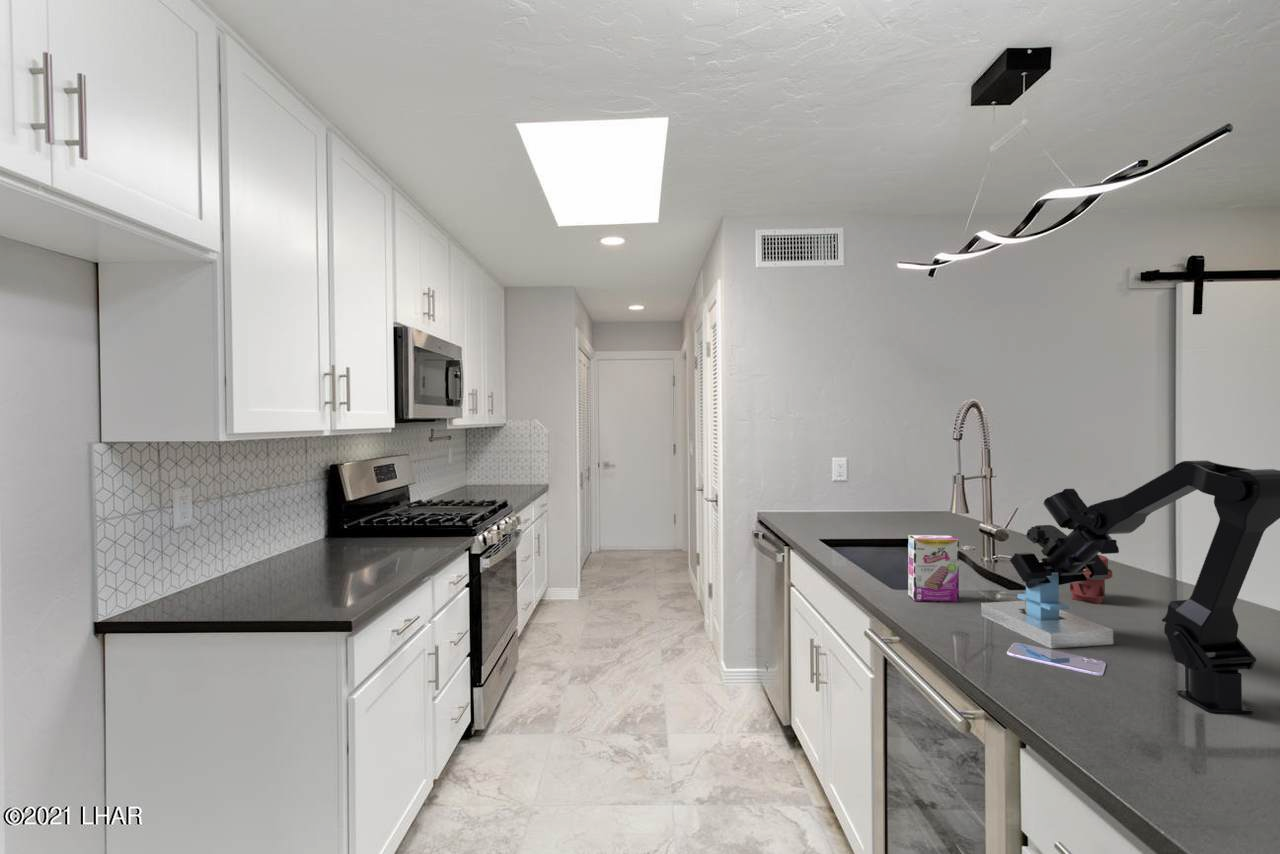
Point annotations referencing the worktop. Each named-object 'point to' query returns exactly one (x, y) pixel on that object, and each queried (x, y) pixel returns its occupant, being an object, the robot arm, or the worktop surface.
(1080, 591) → the mechanical component
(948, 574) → the candy bar box
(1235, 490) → the robot arm
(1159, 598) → the worktop surface
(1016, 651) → the mobile phone
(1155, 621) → the worktop surface
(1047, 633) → the plate
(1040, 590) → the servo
